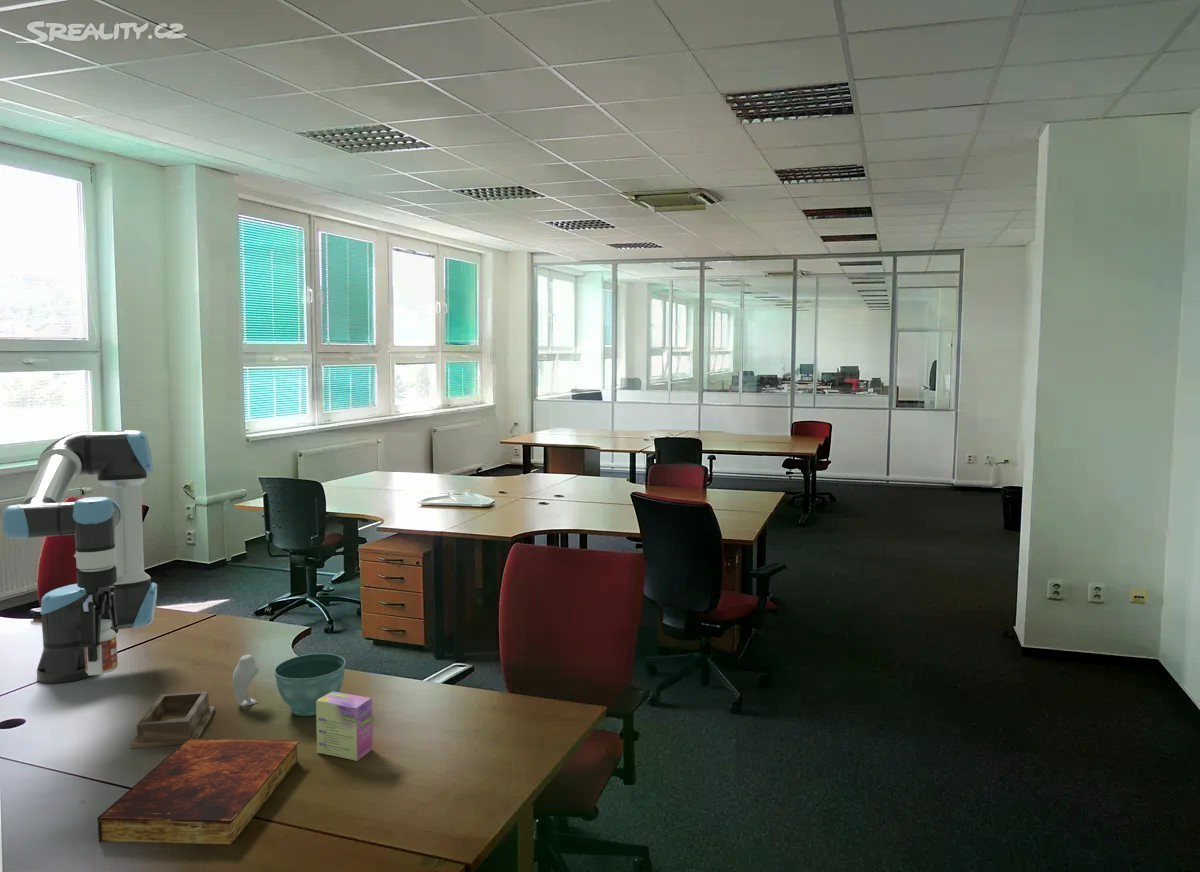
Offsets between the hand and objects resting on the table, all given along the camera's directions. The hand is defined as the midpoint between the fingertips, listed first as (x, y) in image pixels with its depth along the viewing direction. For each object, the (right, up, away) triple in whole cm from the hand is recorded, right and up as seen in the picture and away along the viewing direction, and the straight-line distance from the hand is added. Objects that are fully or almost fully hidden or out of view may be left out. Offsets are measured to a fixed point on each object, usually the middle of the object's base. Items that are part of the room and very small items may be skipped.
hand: (101, 668), depth 180 cm
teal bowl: (+42, -14, +15) cm, 47 cm away
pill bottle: (0, -1, 0) cm, 1 cm away
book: (+36, -18, -25) cm, 48 cm away
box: (+57, -16, -6) cm, 59 cm away
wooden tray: (+15, -15, +4) cm, 21 cm away
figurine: (+25, -14, +17) cm, 33 cm away
